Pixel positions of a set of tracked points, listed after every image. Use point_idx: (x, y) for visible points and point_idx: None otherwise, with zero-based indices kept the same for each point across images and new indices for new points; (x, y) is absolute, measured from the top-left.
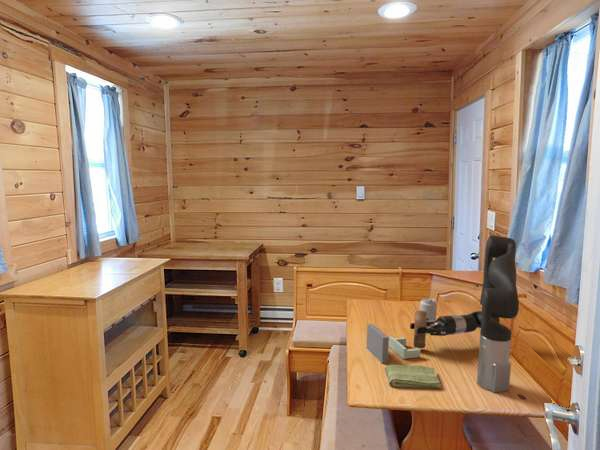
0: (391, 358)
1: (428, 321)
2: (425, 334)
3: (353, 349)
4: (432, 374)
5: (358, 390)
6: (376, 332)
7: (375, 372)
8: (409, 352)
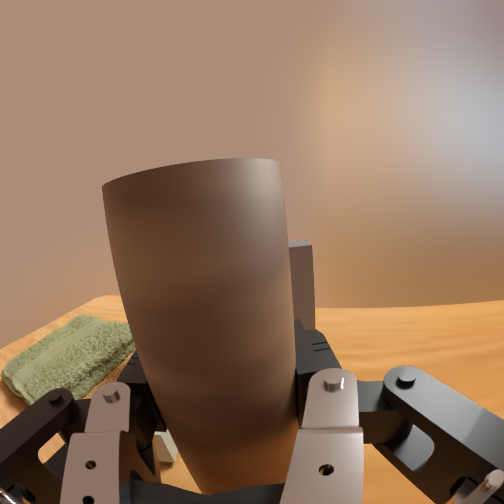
0: None
1: (302, 485)
2: (190, 467)
3: None
4: (22, 377)
5: (119, 300)
6: None
7: None
8: None
